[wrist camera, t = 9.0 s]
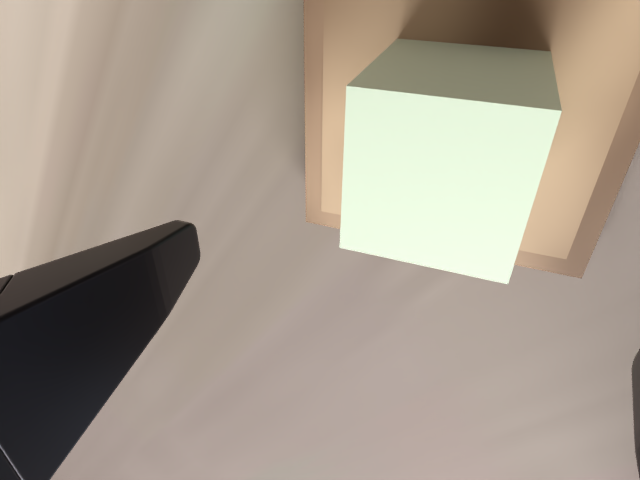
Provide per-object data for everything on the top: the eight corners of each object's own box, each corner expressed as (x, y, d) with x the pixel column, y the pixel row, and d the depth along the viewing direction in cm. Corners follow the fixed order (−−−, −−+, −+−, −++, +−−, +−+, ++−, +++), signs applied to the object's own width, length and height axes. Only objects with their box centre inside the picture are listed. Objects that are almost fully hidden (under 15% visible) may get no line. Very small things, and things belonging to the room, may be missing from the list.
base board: (710, -82, 14) (735, -82, 12) (577, 251, 20) (581, 279, 19) (323, -85, 17) (302, -86, 15) (320, 202, 24) (305, 222, 22)
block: (550, 51, 15) (562, 110, 10) (512, 189, 18) (508, 284, 13) (397, 38, 16) (346, 85, 12) (384, 168, 19) (339, 247, 15)
